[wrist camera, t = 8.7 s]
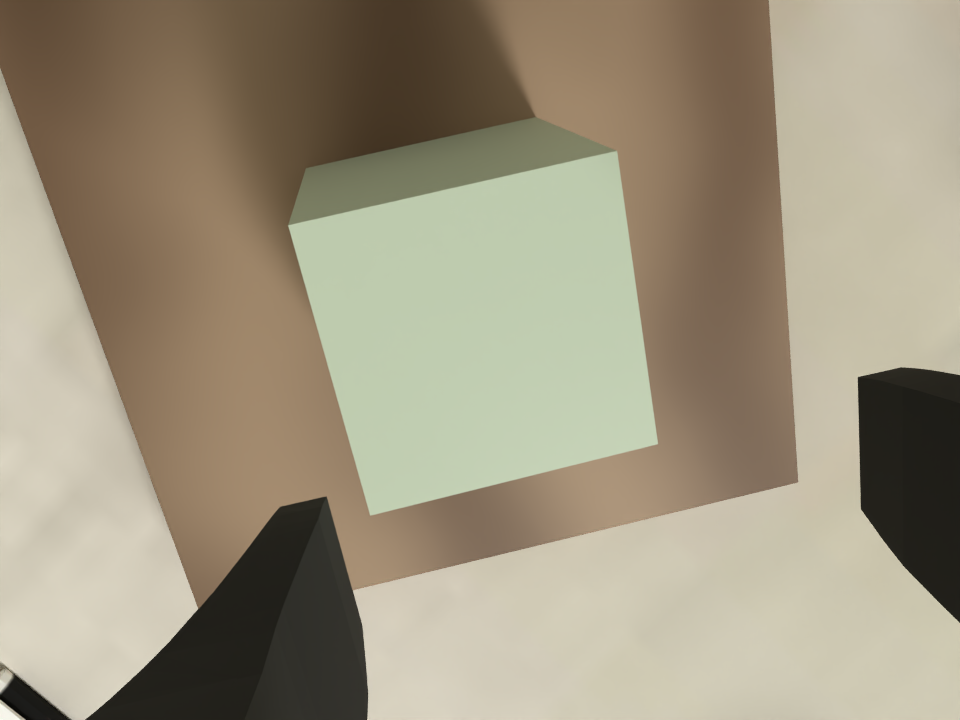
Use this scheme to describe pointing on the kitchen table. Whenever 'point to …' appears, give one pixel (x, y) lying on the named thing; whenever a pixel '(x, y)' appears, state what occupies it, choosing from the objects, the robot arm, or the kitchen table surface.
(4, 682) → the pen
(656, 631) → the kitchen table surface
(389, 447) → the sage block
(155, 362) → the walnut base
